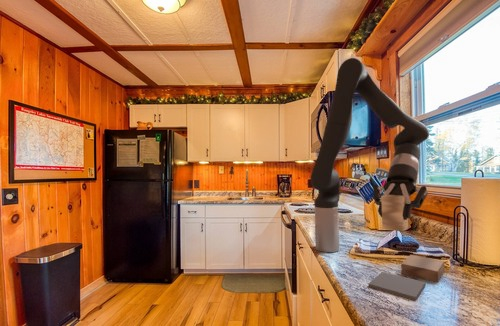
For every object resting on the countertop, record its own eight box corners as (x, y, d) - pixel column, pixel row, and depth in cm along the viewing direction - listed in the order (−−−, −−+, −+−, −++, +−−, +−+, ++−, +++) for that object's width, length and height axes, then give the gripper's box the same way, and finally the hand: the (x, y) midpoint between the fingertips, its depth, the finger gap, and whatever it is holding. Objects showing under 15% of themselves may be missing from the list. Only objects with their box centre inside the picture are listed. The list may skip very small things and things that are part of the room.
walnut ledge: (401, 273, 77) (401, 263, 77) (410, 263, 85) (410, 254, 85) (438, 282, 71) (437, 271, 71) (444, 270, 78) (444, 261, 78)
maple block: (382, 228, 69) (381, 196, 70) (388, 225, 73) (387, 194, 73) (403, 231, 66) (401, 197, 66) (408, 228, 69) (406, 195, 70)
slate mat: (368, 286, 69) (368, 283, 69) (382, 274, 77) (382, 271, 77) (415, 300, 61) (415, 297, 61) (425, 285, 69) (425, 282, 69)
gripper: (374, 163, 80) (361, 205, 71) (429, 161, 70) (421, 210, 61) (381, 179, 84) (369, 221, 75) (433, 180, 74) (427, 228, 65)
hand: (392, 216), depth 68 cm, fingers closed on maple block, 5 cm apart
